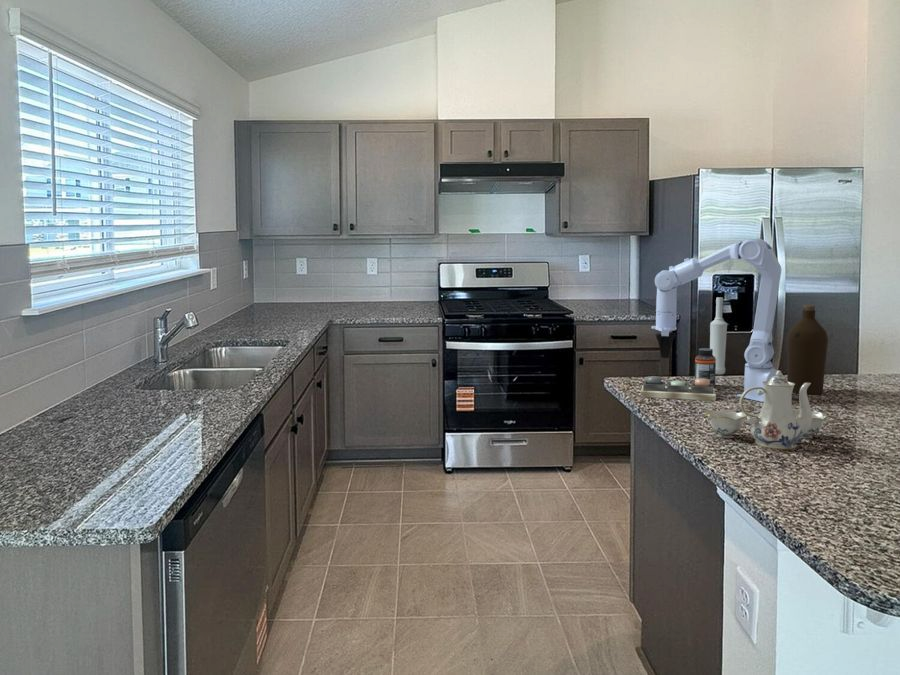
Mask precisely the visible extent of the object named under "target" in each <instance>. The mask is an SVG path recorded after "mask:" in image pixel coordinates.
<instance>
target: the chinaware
mask: <svg viewBox="0 0 900 675" xmlns="http://www.w3.org/2000/svg"><path fill="white" fill-rule="evenodd" d="M777 370H778V369H777ZM775 375H776V376H773V377H771V379H770V380H769V381H763V382H762V383H763V385H764V388H762V387H751V388H749V389H747V390H745V391H744V390H743V392H742V393H741V394H742V395H741V397H739V403H738V404H739V407H740V410H741V412H736V411H734V410H732V409H721V410H719V411H718V410H714V409H710V410H707V413H706V416H707V417H706V418H704V419H702V422H701V427H702V430H704V432H706V433H709V432H712V435H713V436H714V435H715V436H717V437H719V438H721V439H731V438H735V436H733V435H734V434H737V433H738V432H739V431H740V430H741V428H742V427H743V425H744V424H743V423H744V421H745V419H746V422H747V423H748V424H749V425H750V434H751V436H752V438H753V439H754V440H755V441H754V444H755V445H757V446H759V447H761V448H765V449H774V450H793V449H795V448H798V445H797V444H798V443H799V442H800V441H801V440H802V439H813V437H814V436H813V435H815V436H817V437H820V433H822V434H825V435H827V434H831V433H832V432H833V431H834V429H835V426H834V423H833V421H832V420H831V419H828V418H829V415H827V414H825V415H824V414H823V413H821V412H820V411H817V410H816V411H815V410H812V409H811V405H810V401H809V398H808V395H807V388H808V386H809V385H810V384H811V383H808V382H806V383H804V384H803V385H802V386H801V388H800V392H799V394H798V396H799V397H798V398H799V409H793V405H792V404H793V403H792V402H793V401H792V396H793V393H792V391H793V387H794V385H795V384H794V383H791V382H788V380H787V377H785V376H784V375H783V373H782V370H778V371H777V373H775ZM756 389H762V390H763V392H762V391H760V390H759V391H757V394H758V395H759V396H761V395H763V394H764V402H762V407H761V410H760V411H759V413H758V415H757V414H753V413H750V412H748V411H747V410H746V409H745V408H744V399H745V398H744V397H745V395H746V394H747V393H748V392H749V391H752V390H756ZM706 421H707V422H709V423H710V425H711V427H712V429H709V430H707V429H705V427H704V423H705V422H706ZM824 422H825V423H826V424H827V423H828V422H829V423H831V425H832V428H831V430H830V431H828V432H825V431H821V428H822V427H823V424H824ZM717 433H718V434H717Z"/></svg>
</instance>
